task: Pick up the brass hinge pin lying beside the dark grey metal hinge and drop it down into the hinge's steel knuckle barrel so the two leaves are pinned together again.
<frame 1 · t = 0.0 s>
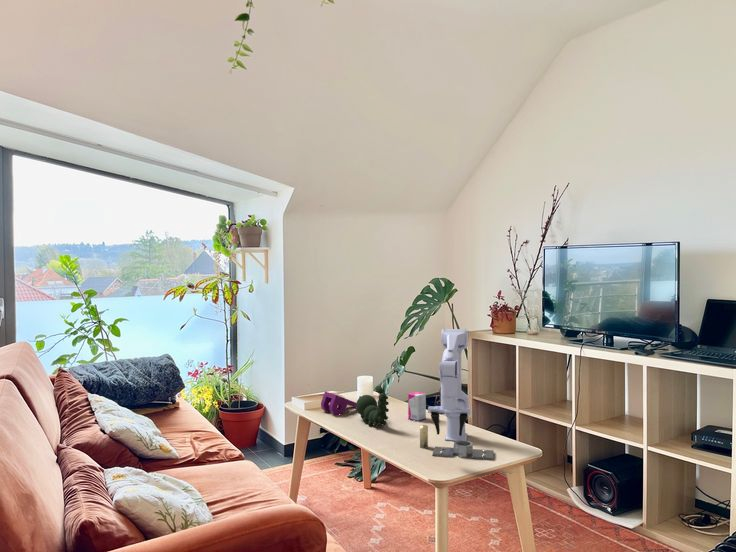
hand: (449, 434, 197), 10 cm above the table, tool pointing down, fingers open, 7 cm apart
hinge pin: (423, 447, 214), on the table
supplement box: (417, 419, 251), on the table
hinge: (463, 454, 206), on the table
toy figurine: (371, 423, 246), on the table
mounting bracket: (343, 411, 266), on the table
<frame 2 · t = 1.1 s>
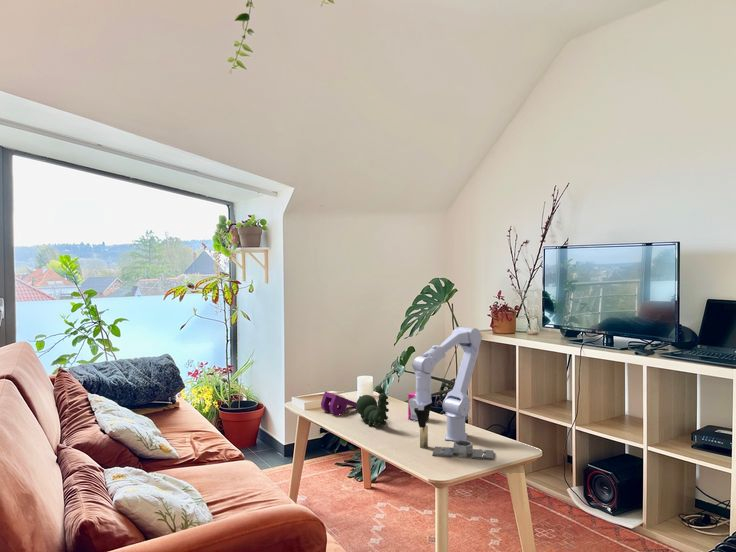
hand: (423, 424, 214), 9 cm above the table, tool pointing down, fingers open, 7 cm apart
nothing on the table moved.
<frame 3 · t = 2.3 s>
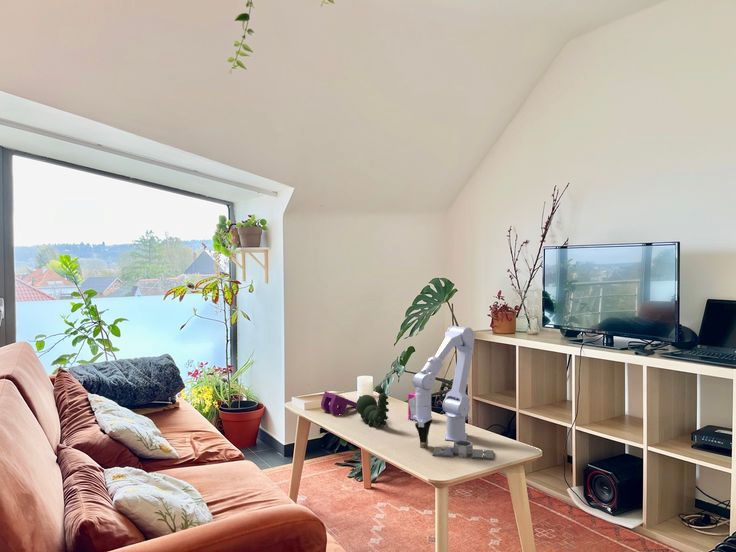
hand: (423, 440, 214), 2 cm above the table, tool pointing down, fingers closed on hinge pin, 3 cm apart
hinge pin: (423, 447, 214), on the table, touching gripper
everything else where it was.
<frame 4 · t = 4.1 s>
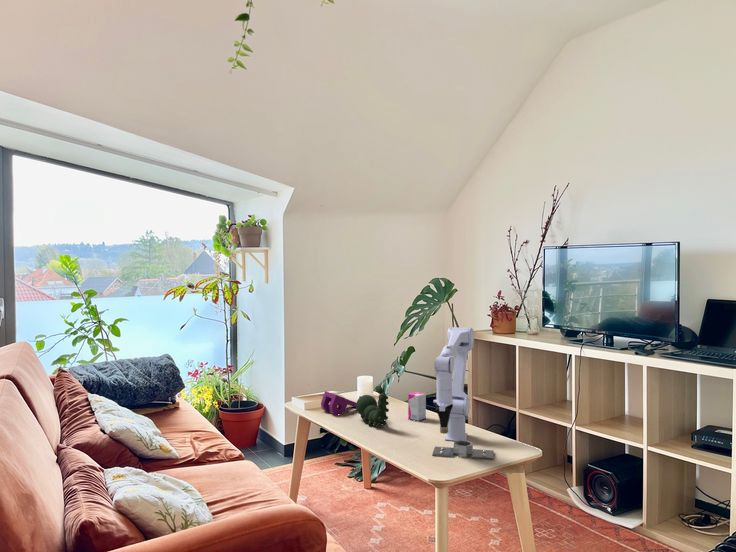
hand: (444, 425, 209), 9 cm above the table, tool pointing down, fingers closed on hinge pin, 3 cm apart
hinge pin: (444, 432, 209), point 7 cm above the table, touching gripper
everything else where it was.
when the fingers open (5 cm above the table, at t = 5.8 s): hinge pin drops 3 cm, resting in hinge.
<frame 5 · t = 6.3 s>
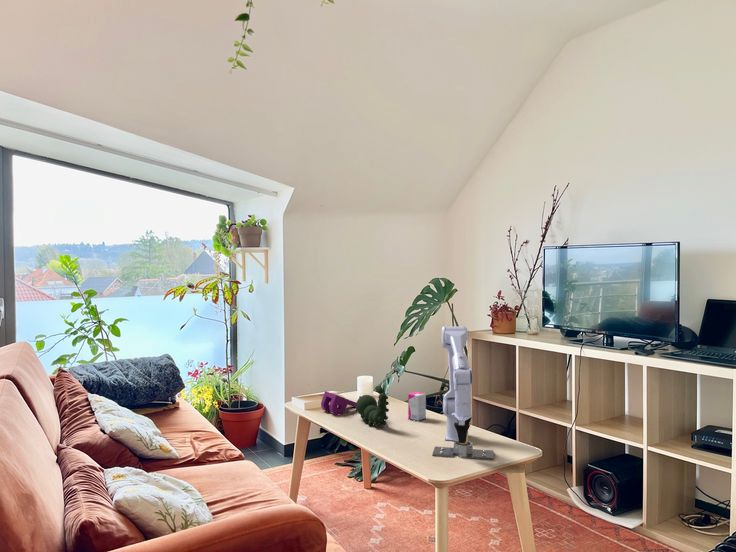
hand: (463, 439, 206), 5 cm above the table, tool pointing down, fingers open, 7 cm apart
hinge pin: (462, 453, 206), resting in hinge
everything else where it was.
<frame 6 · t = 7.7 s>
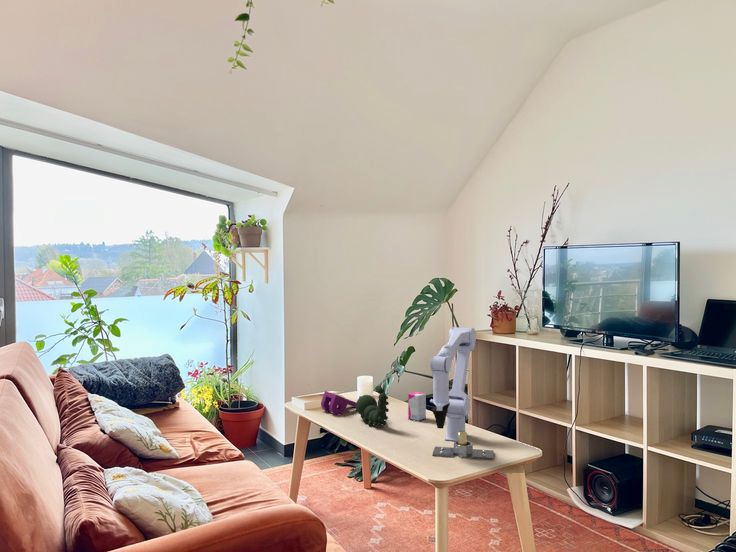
hand: (441, 425, 210), 9 cm above the table, tool pointing down, fingers open, 7 cm apart
nothing on the table moved.
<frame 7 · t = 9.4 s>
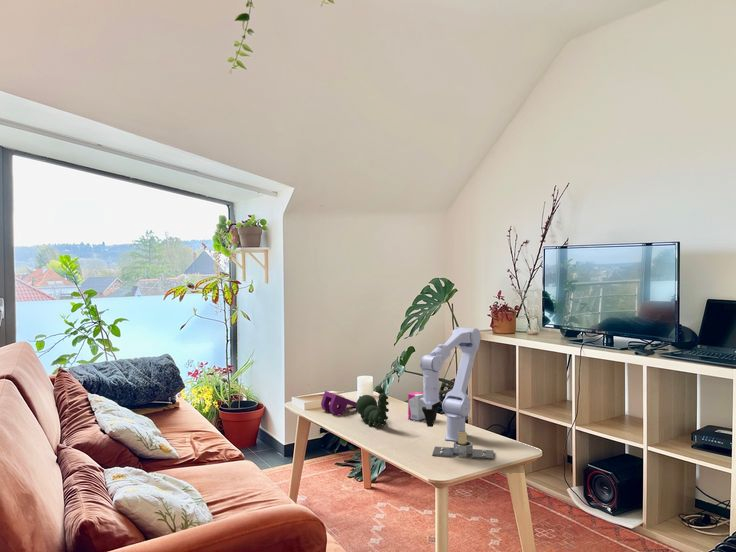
hand: (431, 423, 212), 9 cm above the table, tool pointing down, fingers open, 7 cm apart
nothing on the table moved.
at the end: hinge pin 0.2 cm off-centre on the hinge, point 0.0 cm above the hinge's base; hinge pin tilted 1°; the gripper is holding nothing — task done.
